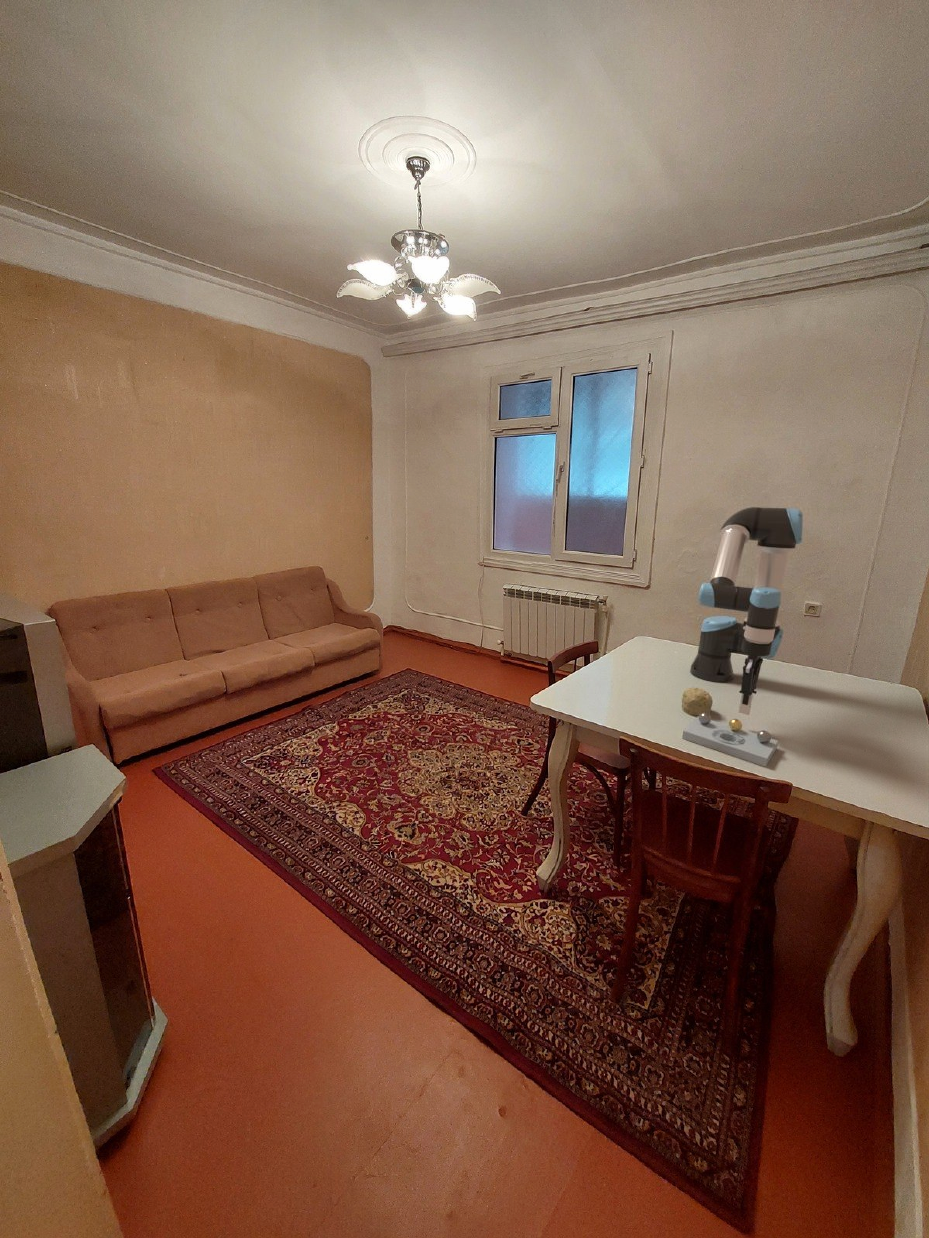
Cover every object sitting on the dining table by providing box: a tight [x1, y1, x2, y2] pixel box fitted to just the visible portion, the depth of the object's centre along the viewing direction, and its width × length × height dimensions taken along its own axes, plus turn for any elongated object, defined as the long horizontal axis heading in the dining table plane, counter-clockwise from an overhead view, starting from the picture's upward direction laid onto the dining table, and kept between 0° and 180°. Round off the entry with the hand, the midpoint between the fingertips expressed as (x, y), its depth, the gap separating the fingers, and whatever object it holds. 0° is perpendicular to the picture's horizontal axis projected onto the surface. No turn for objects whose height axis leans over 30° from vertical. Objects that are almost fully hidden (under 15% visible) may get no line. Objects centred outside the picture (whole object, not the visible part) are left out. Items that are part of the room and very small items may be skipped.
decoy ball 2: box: [756, 730, 772, 743], centre depth 142 cm, size 4×4×4 cm
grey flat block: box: [682, 716, 779, 768], centre depth 147 cm, size 13×22×2 cm, turn 48°
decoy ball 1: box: [699, 713, 712, 724], centre depth 153 cm, size 4×4×4 cm
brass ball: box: [728, 718, 743, 731], centre depth 149 cm, size 4×4×4 cm
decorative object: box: [681, 687, 713, 717], centre depth 167 cm, size 9×10×10 cm
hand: (744, 712), depth 155 cm, fingers closed
